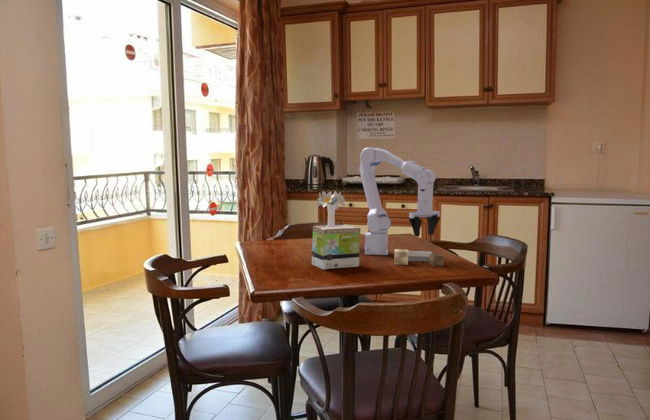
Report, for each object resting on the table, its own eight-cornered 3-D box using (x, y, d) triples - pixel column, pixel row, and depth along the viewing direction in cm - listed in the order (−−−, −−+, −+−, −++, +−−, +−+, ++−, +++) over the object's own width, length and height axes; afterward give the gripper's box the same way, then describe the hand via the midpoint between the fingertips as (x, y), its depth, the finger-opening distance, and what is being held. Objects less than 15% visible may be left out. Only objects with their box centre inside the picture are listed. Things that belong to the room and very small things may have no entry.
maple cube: (394, 264, 190) (394, 251, 189) (394, 261, 195) (394, 249, 194) (407, 265, 189) (408, 251, 189) (407, 262, 194) (407, 249, 193)
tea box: (323, 270, 178) (324, 229, 177) (311, 265, 187) (311, 225, 185) (360, 266, 185) (360, 226, 184) (346, 261, 194) (347, 223, 192)
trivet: (404, 260, 196) (404, 255, 196) (404, 255, 207) (404, 250, 207) (433, 261, 195) (433, 256, 194) (431, 256, 206) (431, 251, 205)
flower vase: (342, 242, 236) (343, 189, 233) (346, 250, 218) (347, 192, 215) (314, 242, 235) (315, 189, 233) (316, 250, 217) (316, 192, 214)
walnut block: (432, 266, 187) (433, 255, 187) (429, 264, 191) (429, 253, 190) (443, 266, 187) (443, 255, 187) (439, 264, 191) (439, 253, 191)
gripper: (418, 202, 189) (417, 238, 191) (445, 201, 197) (444, 235, 199) (405, 200, 195) (404, 235, 197) (432, 199, 203) (431, 232, 204)
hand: (423, 235), depth 198 cm, fingers open, 7 cm apart
